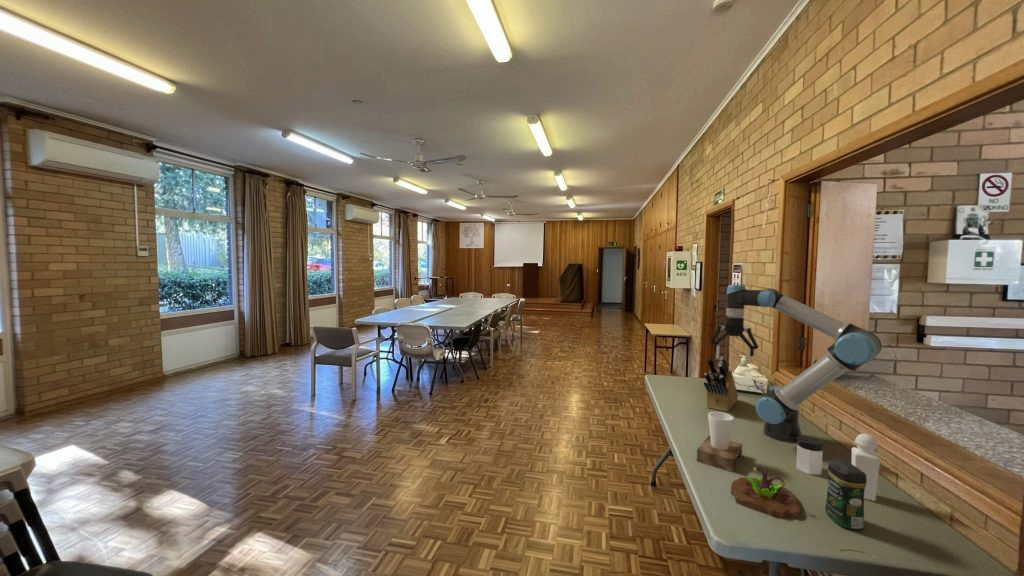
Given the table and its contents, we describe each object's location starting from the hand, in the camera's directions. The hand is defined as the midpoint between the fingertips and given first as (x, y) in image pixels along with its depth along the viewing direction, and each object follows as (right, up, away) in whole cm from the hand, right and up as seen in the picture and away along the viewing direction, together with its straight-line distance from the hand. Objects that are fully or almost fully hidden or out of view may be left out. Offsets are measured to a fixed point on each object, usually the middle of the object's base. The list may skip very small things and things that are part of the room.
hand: (733, 360), depth 191 cm
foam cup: (-20, -31, -26) cm, 45 cm away
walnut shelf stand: (-20, -36, -26) cm, 49 cm away
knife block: (+12, -33, +35) cm, 50 cm away
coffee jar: (-2, -39, -66) cm, 77 cm away
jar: (+11, -37, -35) cm, 52 cm away
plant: (-20, -39, -54) cm, 69 cm away
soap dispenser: (+17, -38, -52) cm, 66 cm away
